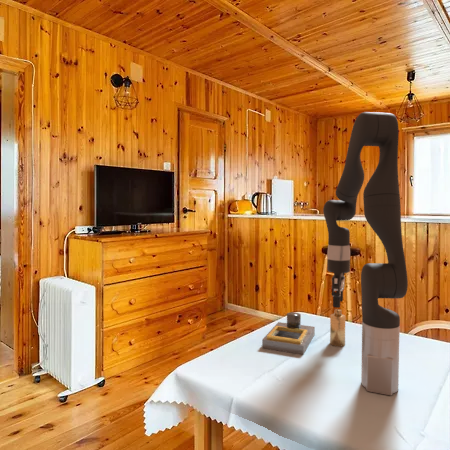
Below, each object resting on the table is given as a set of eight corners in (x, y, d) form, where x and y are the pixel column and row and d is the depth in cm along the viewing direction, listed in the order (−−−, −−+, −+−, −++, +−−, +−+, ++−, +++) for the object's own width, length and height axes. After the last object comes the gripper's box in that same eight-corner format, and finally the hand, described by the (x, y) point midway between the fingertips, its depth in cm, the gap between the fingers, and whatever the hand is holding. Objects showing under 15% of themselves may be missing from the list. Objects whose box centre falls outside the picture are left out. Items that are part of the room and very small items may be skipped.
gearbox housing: (303, 354, 119) (303, 330, 119) (262, 348, 125) (262, 325, 124) (314, 334, 137) (314, 313, 137) (278, 329, 143) (278, 309, 143)
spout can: (344, 347, 125) (344, 312, 124) (329, 345, 127) (329, 311, 126) (345, 342, 130) (346, 309, 129) (331, 340, 132) (331, 307, 131)
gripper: (348, 261, 118) (347, 310, 119) (351, 255, 131) (351, 300, 132) (324, 260, 122) (323, 308, 123) (330, 254, 135) (329, 298, 136)
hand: (338, 304), depth 127 cm, fingers open, 8 cm apart
